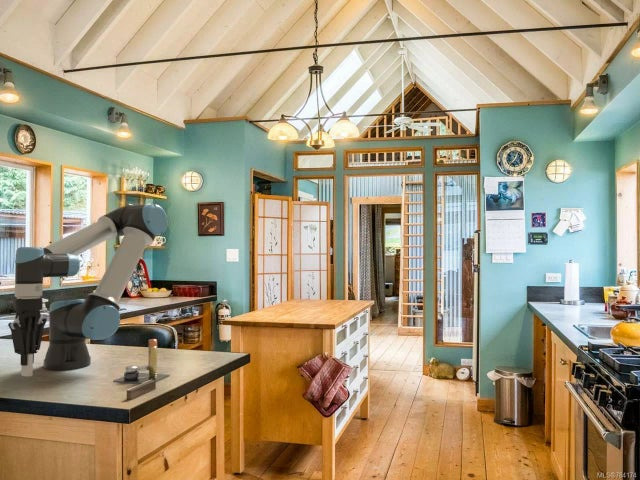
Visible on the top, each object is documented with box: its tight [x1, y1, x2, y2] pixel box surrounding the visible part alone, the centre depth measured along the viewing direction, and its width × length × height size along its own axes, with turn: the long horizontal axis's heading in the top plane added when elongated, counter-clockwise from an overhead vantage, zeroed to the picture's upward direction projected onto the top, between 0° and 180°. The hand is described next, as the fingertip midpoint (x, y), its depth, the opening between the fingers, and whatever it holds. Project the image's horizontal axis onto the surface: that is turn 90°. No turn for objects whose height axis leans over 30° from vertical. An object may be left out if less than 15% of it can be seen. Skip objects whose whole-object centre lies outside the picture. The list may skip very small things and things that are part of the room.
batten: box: [126, 380, 157, 401], centre depth 155 cm, size 2×12×3 cm, turn 165°
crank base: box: [112, 345, 171, 385], centre depth 173 cm, size 13×12×10 cm
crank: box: [125, 338, 158, 373], centre depth 173 cm, size 10×4×10 cm, turn 120°
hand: (26, 375), depth 165 cm, fingers closed
